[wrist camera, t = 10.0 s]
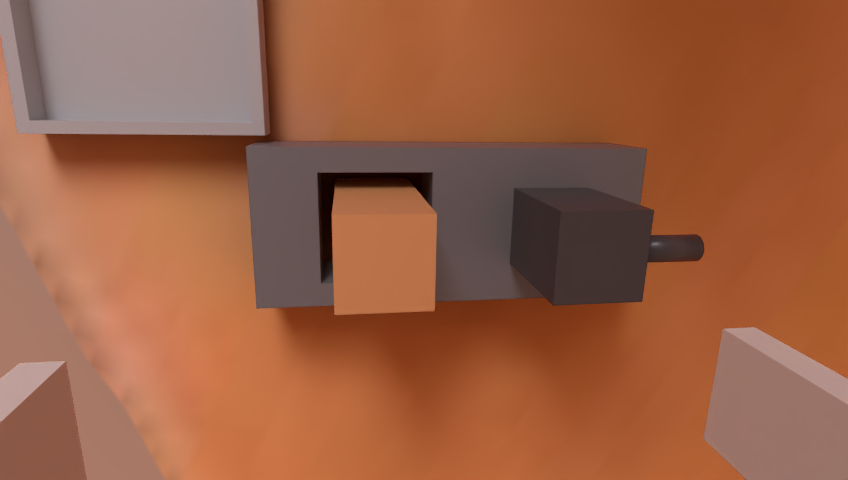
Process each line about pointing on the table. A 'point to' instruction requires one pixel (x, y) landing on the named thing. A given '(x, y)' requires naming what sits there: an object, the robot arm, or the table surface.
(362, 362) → the table surface
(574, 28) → the table surface
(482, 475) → the table surface
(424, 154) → the strip
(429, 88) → the table surface
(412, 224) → the plug
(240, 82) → the tray
